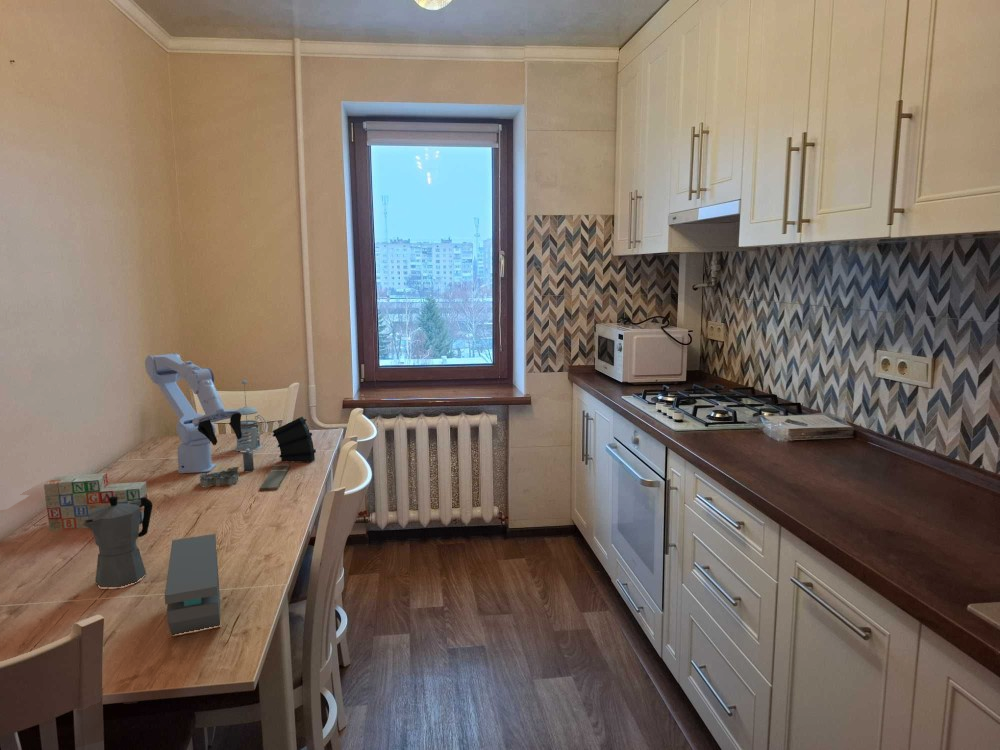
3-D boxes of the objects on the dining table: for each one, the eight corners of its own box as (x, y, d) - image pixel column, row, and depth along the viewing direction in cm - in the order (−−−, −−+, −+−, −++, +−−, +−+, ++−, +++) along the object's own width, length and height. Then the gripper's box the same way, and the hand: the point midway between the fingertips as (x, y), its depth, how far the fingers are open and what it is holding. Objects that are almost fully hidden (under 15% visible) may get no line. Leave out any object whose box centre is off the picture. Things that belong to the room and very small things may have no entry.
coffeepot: (109, 598, 131) (99, 510, 128) (75, 590, 135) (65, 504, 132) (173, 566, 145) (166, 486, 143) (141, 559, 149) (133, 481, 146)
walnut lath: (259, 490, 195) (259, 487, 195) (274, 467, 219) (274, 464, 218) (277, 489, 196) (277, 486, 196) (290, 466, 219) (290, 463, 219)
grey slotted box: (176, 592, 134) (172, 540, 132) (219, 584, 137) (215, 533, 135) (170, 657, 111) (164, 595, 109) (221, 646, 114) (216, 586, 112)
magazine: (320, 458, 223) (299, 417, 222) (287, 473, 225) (266, 434, 224) (324, 455, 227) (304, 415, 225) (291, 470, 229) (271, 431, 228)
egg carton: (240, 479, 208) (240, 466, 207) (235, 486, 200) (235, 473, 200) (204, 481, 206) (203, 468, 205) (197, 488, 198) (196, 475, 198)
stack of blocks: (149, 515, 177) (145, 470, 175) (142, 523, 171) (138, 477, 169) (59, 522, 172) (54, 476, 170) (48, 531, 166) (43, 483, 164)
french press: (243, 444, 248) (238, 377, 244) (272, 445, 246) (268, 378, 242) (228, 451, 238) (223, 382, 234) (259, 452, 237) (255, 382, 233)
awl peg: (243, 472, 214) (241, 450, 213) (245, 469, 217) (243, 448, 216) (252, 471, 214) (251, 450, 213) (254, 468, 217) (253, 447, 216)
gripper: (190, 400, 199) (207, 439, 195) (237, 391, 209) (254, 428, 205) (184, 412, 203) (201, 451, 200) (231, 403, 214) (247, 439, 210)
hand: (228, 440), depth 203 cm, fingers open, 7 cm apart
